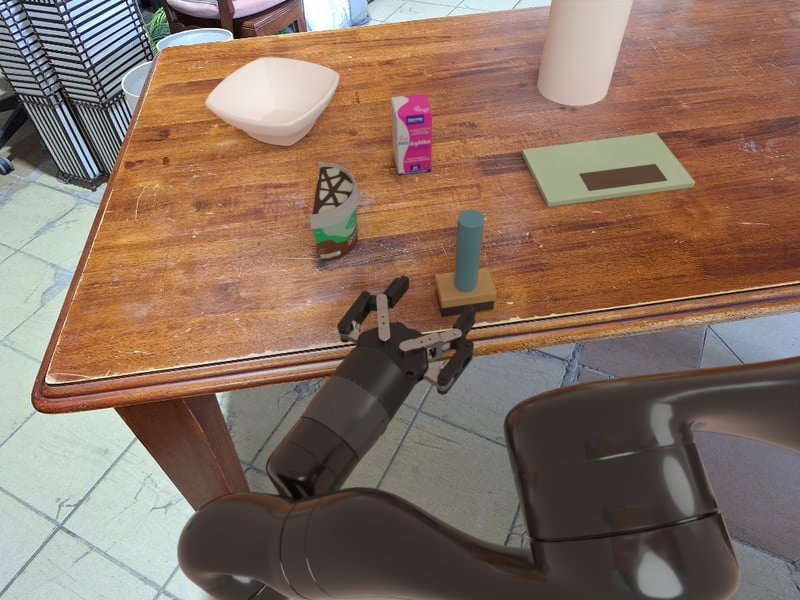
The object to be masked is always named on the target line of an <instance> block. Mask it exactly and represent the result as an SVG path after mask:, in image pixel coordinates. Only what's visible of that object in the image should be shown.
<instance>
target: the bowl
mask: <svg viewBox="0 0 800 600" xmlns="http://www.w3.org/2000/svg"><path fill="white" fill-rule="evenodd" d="M339 83H340V74H339V73H338V72H336V71H335V70H333V69H331V68H329V67H327V66H324V65H321V64H317V63H313V62H309V61H306V60H301V59H293V58H288V57H287V58H286V57H276V56H275V57H274V56H272V57H271V56H270V57H269V56H267V57H259V58H257V59H254V60H252V61H250V62H248V63H246V64H244V65H243V66H241V67H240V68H237V69H236V70H235V71H234V72H231V74H229V75H228V76H226V77H225V78H223V80H221V82H219V83H218V84H217V85H216V87H214V89H212V91H211V92H210V93H209V94H208V96H207V97H206V100H205V102H204V105H205V107H206V108H207V109H208V110H209V111H210V112H212V113H213V114H215V115H216V117H218V118H219V119H221V120H222V121H223V122H225V123H226V124H228V125H230V126H231V127H234V128H236V129H239V130H242V131H243V132H244V133H245V134H247V135H248V136H249V137H250V138H252V139H254V140H257V141H259V142H261V143H264V144H268V145H273V146H284V147H290V146H292V145H294V144H296V143H298V141H300V140H302V139H304V137H305V136H307V135H308V134H309V132H310V131H311V130H312V128H313V127H314V125H315V124H316V123H317V121H318V118H319V117H320V116H321V115H322V113H323V112H324V111H325V110H326V109H327V107H328V105H329V104H330V102H331V101H332V99H333V96H334V95H335V92H336V90H337V88H338V85H339Z"/></svg>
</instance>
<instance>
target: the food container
mask: <svg viewBox="0 0 800 600" xmlns="http://www.w3.org/2000/svg"><path fill="white" fill-rule="evenodd" d="M318 168H319V173H318V178H317V184H316V188H315V194H314V201H313V207H312V212H311V214H308V216H309V224H310V225H309V226H310V229H311V230H312V231H313V235H314V238H315V242H316V247H317V250H318V253H319V257H320V261H321V262H322V263H323V262H331V261H336V260H339V259H341V258H342V257H344V256H346V255H348V254H349V253H350V252H351V251H352V250H353V249H354V248H355V247H356V245H357V243H358V219H357V218H358V217H357V207H358V206H359V203H360V201H361V192H360V188H359V186H358V184H357V181H356V179H355V178H354V176H353V175H352V174H351V172H350V171H348V170H347V168H345V167H343V166H341V165H339V164H336V163H332V162H326V161H318Z"/></svg>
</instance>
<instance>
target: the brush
mask: <svg viewBox="0 0 800 600" xmlns="http://www.w3.org/2000/svg"><path fill="white" fill-rule="evenodd" d="M456 222H457V224H456V239H455V240H456V241H455V242H456V243H455V257H454V259H455V260H454V271H451V272H443V273H437V274H434V283H435V295H436V299H437V302H438V307H439V311H440V314H441V315H440V316H441V318H444V317H450V316H458V315H459V316H460V315H461V313H462V312H463V310H464V309H465V307H466V306H467V305H468V304H469V305H471V306H473V307H474V312H475V313H478V312H479V313H480V312H487V311H492V310H494V307H495V301H497V294H498V293H497V289H496V286H495V284H494V281H493V278H492V275H491V271H490V269H489V267H488V266H487V267H480V261H481V254H482V253H481V252H482V244H483V235H484V226H485V216H484V214H483V213H482V212H481V211H479V210H476V209H465V210H462V211H461V212H460V213H459V214H458V215H457V221H456Z"/></svg>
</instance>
